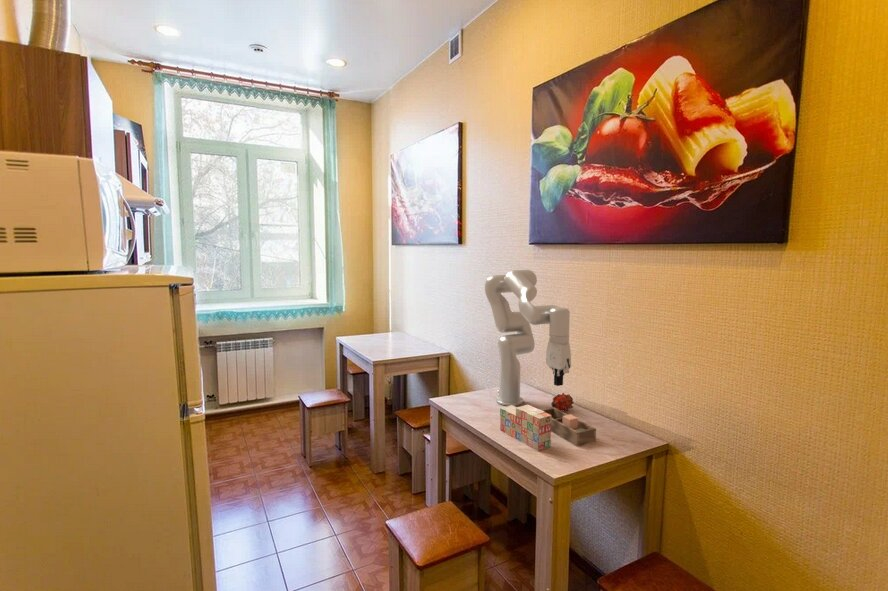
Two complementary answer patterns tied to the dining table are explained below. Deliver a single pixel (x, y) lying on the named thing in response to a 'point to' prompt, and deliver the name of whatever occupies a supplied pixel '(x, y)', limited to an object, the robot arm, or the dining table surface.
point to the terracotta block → (570, 421)
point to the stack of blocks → (527, 425)
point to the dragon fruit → (562, 402)
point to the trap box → (574, 436)
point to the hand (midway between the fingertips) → (558, 384)
